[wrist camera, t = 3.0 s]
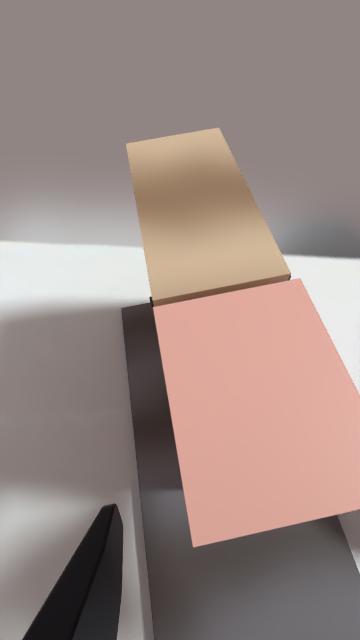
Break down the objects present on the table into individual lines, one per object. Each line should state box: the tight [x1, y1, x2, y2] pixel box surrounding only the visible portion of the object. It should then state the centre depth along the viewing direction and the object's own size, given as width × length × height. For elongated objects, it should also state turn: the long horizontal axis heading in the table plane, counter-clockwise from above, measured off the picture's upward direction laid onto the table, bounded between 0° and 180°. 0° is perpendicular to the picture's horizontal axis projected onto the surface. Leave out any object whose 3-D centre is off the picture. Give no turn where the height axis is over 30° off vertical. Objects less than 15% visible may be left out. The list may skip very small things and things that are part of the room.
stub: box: [153, 278, 360, 547], centre depth 12 cm, size 5×4×13 cm
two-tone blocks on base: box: [121, 128, 360, 640], centre depth 12 cm, size 22×11×14 cm, turn 11°
